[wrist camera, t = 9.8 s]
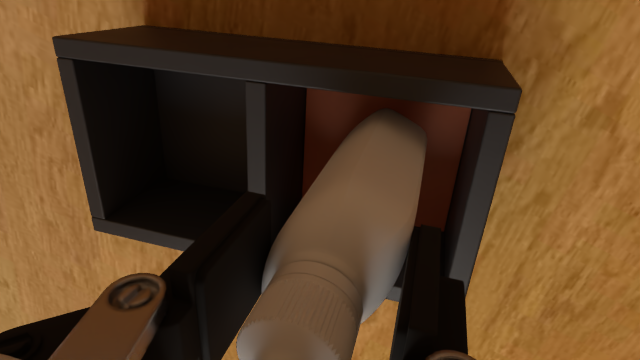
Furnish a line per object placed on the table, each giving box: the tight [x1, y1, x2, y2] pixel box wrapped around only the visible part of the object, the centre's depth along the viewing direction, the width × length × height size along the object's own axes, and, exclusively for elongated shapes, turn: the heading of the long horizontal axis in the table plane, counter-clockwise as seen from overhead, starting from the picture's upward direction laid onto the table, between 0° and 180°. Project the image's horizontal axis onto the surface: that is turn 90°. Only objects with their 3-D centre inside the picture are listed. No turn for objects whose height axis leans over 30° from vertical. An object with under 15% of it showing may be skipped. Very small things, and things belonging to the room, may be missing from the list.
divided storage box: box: [52, 25, 522, 302], centre depth 19 cm, size 9×17×6 cm, turn 87°
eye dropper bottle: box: [236, 108, 427, 360], centre depth 12 cm, size 4×6×12 cm
